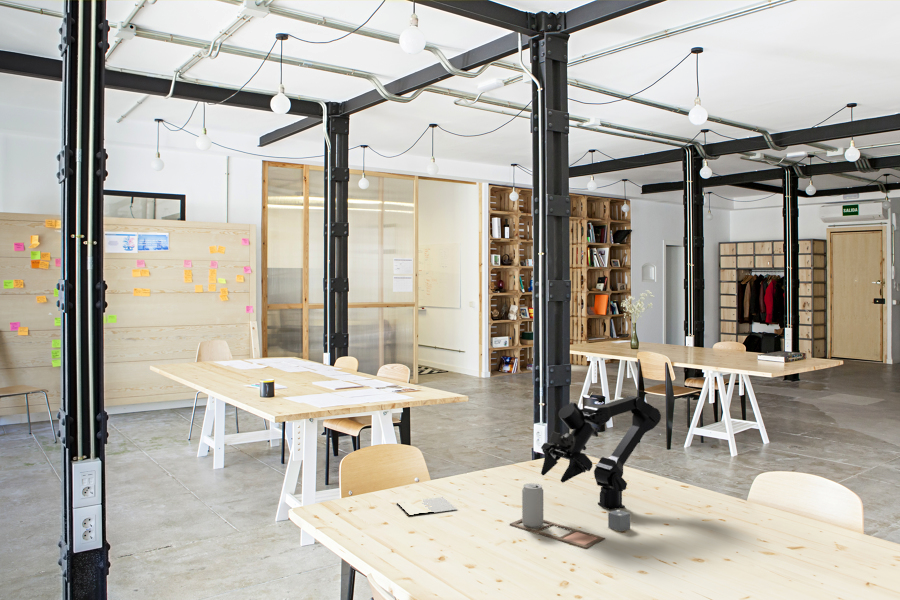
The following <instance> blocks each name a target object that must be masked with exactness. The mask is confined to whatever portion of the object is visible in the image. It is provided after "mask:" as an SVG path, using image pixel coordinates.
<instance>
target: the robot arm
mask: <svg viewBox="0 0 900 600" xmlns="http://www.w3.org/2000/svg"><path fill="white" fill-rule="evenodd" d="M628 412H630V413H631V414H632V417H631V419H632V421H631V425H630V427H629V429H628V430H627V431H626V433H625V434H624V436H623V437H622V439H621V440H620V442H619V443H618V445H617V446H616V447H615V449H614V450H613V452H612V453H611V455H610V456H609V457H605V456H602V457H600V459H599V461H598V462H597V464H595V466H594V467H595V468H594V470H593V474H594V475H593V476H594V479H595V481H596V485H597V486H598V487H600V492H599V502H597V505H599V506H601V507H603V508H604V509H606V510H609V511H613V510H619V509H625V508H626V505H624V504H623V491H625V490H626V489H627V486H628V483H627V481H626V480H625V479H624V478H623V475H624V466H625V463H626V462H627V461H628V459H629V457H630V456H631V455H632V453H633V451H634V450H635V449H636V447H637V446H638V444H639V442H641V439H643V436H644V435H645V434H646V433H648V432H649V431H651V430H653V429H655V427H656V426H657V425H658V424H659V423H660V421H661V418H662V415H661V412H660V409H658V408H656V407H655V406H653V405H651V404H650V403H648V402H647V401H645V400H644V399H643V398H641V397H640V396H635V395H628V396H626V397H623V398H619V399H617V400H615V401H610V402H607V403H603V404H597V403H596V404H587V405H584V407H583V408H581V409H580V407H579V406H578V404H577V403H576V402H573V401H571V402H570V403H569V404H567V405H564V406H563V407H561V408H560V410H559V411H558V418H560V419H561V421H562V422H563V423H564V424H565V426H566V427H567V428H568V429H569V430H572V431H571V432H570V433H569V432H566V433H565V434H562V433H559V432H556V431H552V432H551V434H550V439H549V442H550V443H549V442H544V443H543V444H542V445H541V448H540V449H541V450H542V453H543V454H544V460H543V464H542V469H541V471H540V475H542V476H545V475H547V473H549V471H550V470H552V469H553V468H554V467H555V466H556V465H557V464H559V463H558V461H559V460H560V459H561V458H562V459H566V460H569V463H568V466H567V468H566V469H565V471H564V473H563V475H562V476H561V479H560V482H561V483H562V484H563V483H565V482H568V481H570V480H571V479H572V478H574V477H577V476H578V475H580V474H582V473H586V472H590V471H591V470H592V468H593V461H592V460H591V459H590V458H589V457H588V456H587V454H586V453H583V452H582V451H586V450H587V446H586V444H588V441H589V440H590V439H591V437H592V436H593V437H599V432H598V428H597V427H593V426H592V425H597V426H602V425H604V424H606V423H608V422H610V420H611V418H613V417H615V416H618V415H621V414H624V413H628ZM555 444H557V445H555Z"/></svg>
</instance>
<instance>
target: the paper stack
mask: <svg viewBox="0 0 900 600" xmlns="http://www.w3.org/2000/svg"><path fill="white" fill-rule="evenodd" d="M423 502H424V503H422V504H424V505H428V506H425V507H428V509H429V510H431V511H432V512H434V513H441V512H448V511H456V510H458V508H457V507H456V506H454V505H453V504H452V503H451V502H450V501H448V500H447V499H446V498H444V496H438V497H432V498H423ZM427 503H428V504H427ZM429 506H432V507H429Z"/></svg>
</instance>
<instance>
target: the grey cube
mask: <svg viewBox="0 0 900 600" xmlns="http://www.w3.org/2000/svg"><path fill="white" fill-rule="evenodd" d="M607 516H608V517H607V518H608V519H607V521H608V523H607V525H608V527H607V528H609V529H612V530H615V531H617V532H620V533H621V532H623V531H624V532H625V531H627V530H630V529H631V512H627V511H624V510H620V509H614V510H611V511H610V512H608V513H607Z"/></svg>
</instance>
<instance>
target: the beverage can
mask: <svg viewBox="0 0 900 600" xmlns="http://www.w3.org/2000/svg"><path fill="white" fill-rule="evenodd" d="M521 493H522V494H521V495H522V497H521V501H522V502H521V503H522V504H521V505H522V508H521V509H522V511H521V513H522V517H521V519H522V522H521V523H522V524H523V526H524V527H528V528H530V527H531V529H539V528H541V527H542V526H543V524H544V523H543V520H544V489H543V485H541V484H540V483H532V482H531V483H525V484H523V487H522V489H521Z"/></svg>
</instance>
